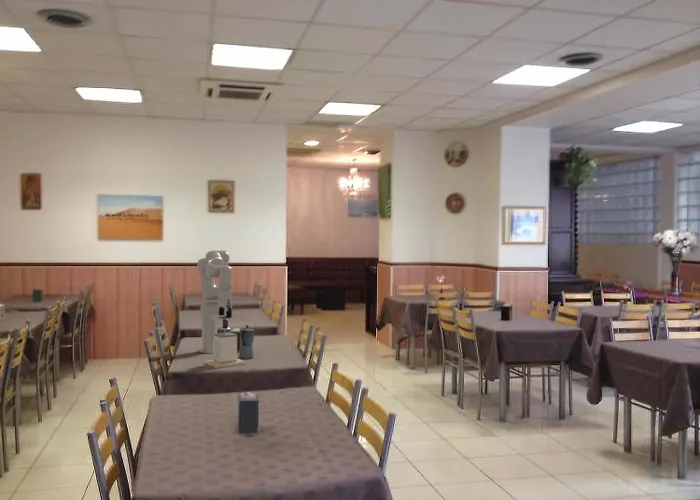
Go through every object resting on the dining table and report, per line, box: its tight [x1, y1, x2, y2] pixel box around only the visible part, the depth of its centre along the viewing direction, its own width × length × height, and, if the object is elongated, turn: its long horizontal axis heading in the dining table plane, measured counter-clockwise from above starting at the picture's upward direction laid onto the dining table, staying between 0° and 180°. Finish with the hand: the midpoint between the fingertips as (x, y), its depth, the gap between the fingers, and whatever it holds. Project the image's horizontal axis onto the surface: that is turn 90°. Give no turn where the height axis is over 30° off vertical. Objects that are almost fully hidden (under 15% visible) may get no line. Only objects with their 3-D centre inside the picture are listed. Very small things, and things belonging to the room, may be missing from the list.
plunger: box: [220, 318, 231, 335], centre depth 384 cm, size 8×8×23 cm
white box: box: [204, 331, 247, 369], centre depth 384 cm, size 15×19×18 cm
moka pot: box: [238, 324, 255, 360], centre depth 401 cm, size 10×15×20 cm, turn 174°
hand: (225, 316), depth 384 cm, fingers open, 9 cm apart
